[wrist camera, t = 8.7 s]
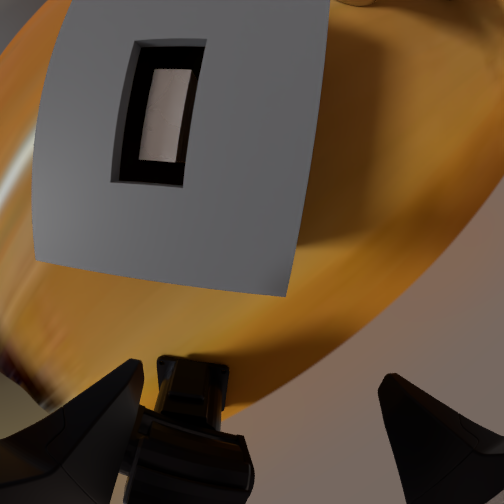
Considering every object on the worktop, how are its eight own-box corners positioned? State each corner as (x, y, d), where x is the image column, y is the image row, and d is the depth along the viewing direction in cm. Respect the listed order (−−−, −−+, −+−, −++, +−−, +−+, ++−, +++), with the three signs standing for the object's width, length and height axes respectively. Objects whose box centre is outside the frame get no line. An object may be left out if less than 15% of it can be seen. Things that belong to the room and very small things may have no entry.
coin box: (270, 251, 20) (285, 296, 13) (89, 229, 19) (35, 260, 12) (302, 39, 15) (330, -9, 8) (117, 31, 14) (75, -7, 7)
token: (192, 162, 18) (175, 162, 13) (164, 159, 17) (138, 159, 13) (203, 92, 16) (191, 69, 11) (175, 90, 16) (154, 69, 11)
